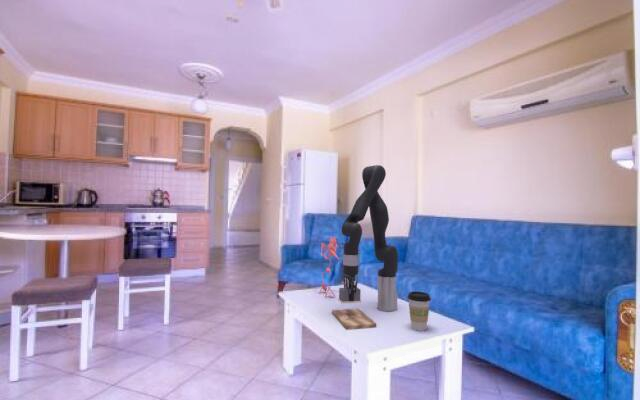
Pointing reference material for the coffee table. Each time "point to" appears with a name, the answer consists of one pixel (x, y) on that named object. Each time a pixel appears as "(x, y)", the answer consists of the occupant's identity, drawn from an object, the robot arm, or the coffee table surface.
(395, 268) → the robot arm
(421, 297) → the coffee cup
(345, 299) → the sanding block
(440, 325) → the coffee table surface
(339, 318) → the oak board
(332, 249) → the figurine
